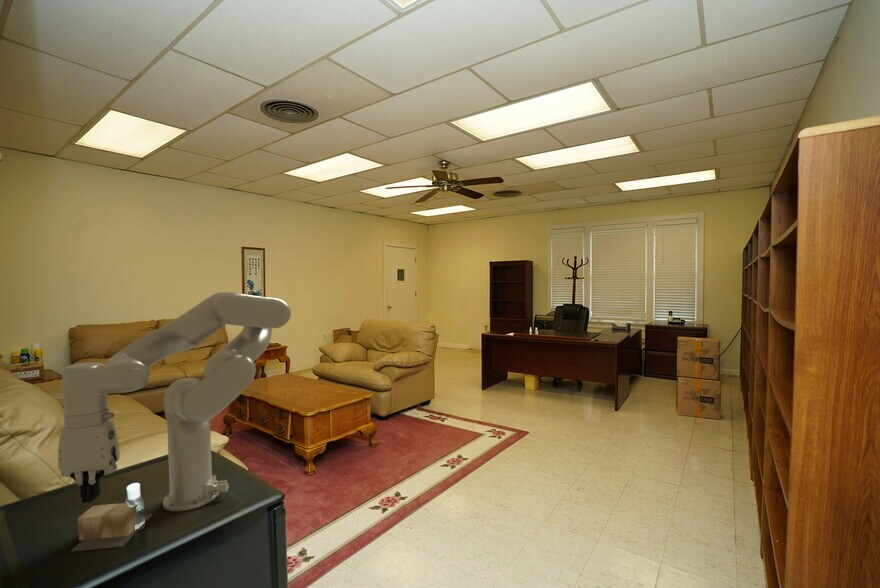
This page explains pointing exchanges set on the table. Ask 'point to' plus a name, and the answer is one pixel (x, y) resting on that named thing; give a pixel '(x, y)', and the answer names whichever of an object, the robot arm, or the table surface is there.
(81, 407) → the robot arm
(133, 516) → the maple block
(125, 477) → the table surface
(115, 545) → the mat
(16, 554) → the table surface
